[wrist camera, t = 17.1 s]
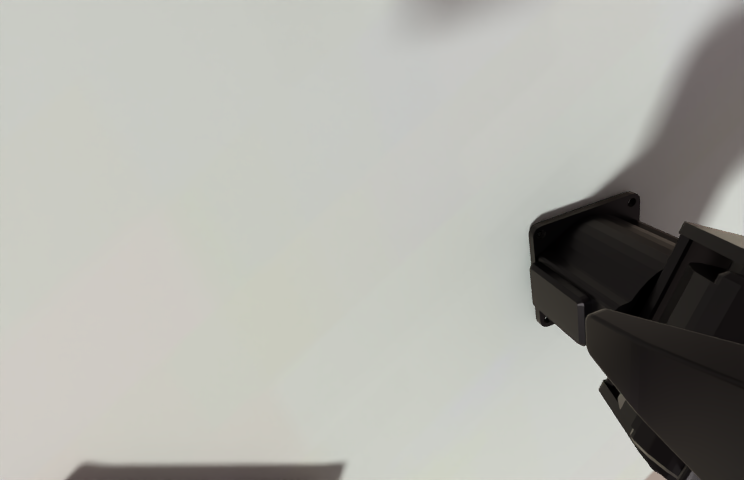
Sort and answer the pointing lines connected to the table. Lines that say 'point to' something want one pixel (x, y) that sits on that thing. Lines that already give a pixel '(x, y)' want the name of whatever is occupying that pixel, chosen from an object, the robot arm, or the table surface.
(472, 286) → the table surface
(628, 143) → the table surface
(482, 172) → the table surface
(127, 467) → the table surface
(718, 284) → the robot arm
